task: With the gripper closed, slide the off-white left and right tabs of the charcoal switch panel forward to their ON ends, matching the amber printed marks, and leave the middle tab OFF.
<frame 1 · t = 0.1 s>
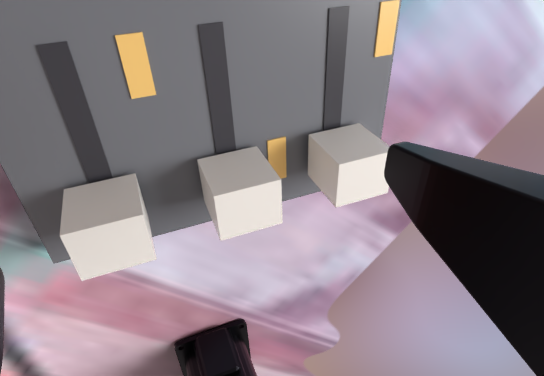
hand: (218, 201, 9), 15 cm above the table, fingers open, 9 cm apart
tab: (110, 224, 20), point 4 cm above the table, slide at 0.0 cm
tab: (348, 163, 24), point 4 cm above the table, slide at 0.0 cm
tab middle: (239, 191, 22), point 4 cm above the table, slide at 0.0 cm
switch panel: (213, 104, 23), on the table
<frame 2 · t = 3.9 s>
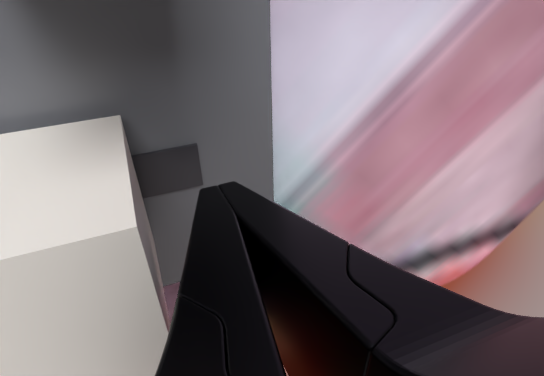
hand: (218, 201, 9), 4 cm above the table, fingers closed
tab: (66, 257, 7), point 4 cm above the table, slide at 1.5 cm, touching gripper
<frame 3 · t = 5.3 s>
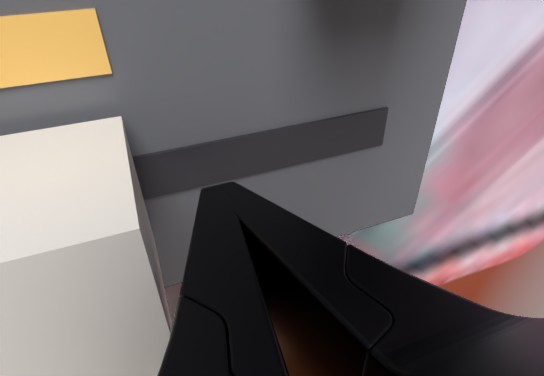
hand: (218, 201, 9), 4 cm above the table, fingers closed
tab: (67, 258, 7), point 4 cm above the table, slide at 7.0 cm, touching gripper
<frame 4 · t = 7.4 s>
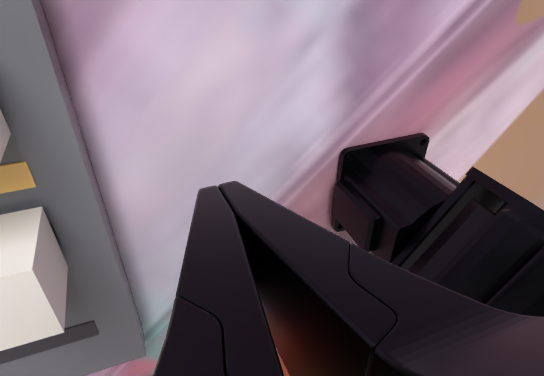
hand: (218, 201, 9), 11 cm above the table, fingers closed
tab middle: (11, 277, 15), point 4 cm above the table, slide at 0.0 cm
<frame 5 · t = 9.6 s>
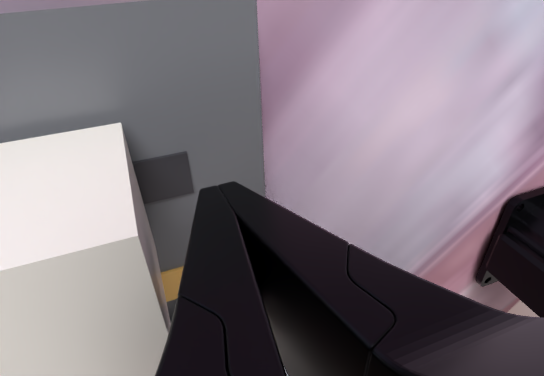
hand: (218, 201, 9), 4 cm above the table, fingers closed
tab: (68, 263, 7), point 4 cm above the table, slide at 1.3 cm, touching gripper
switch panel: (71, 334, 14), on the table
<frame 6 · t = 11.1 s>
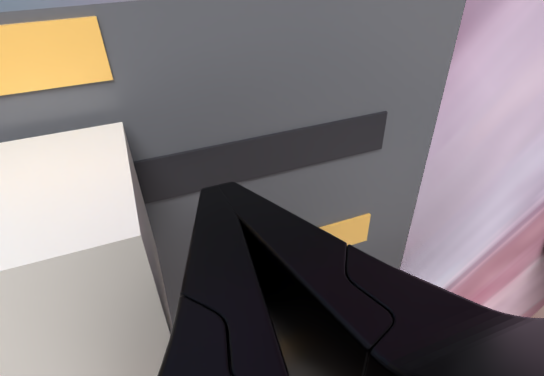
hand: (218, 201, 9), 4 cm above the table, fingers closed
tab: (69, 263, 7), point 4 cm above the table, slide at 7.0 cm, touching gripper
switch panel: (224, 287, 16), on the table
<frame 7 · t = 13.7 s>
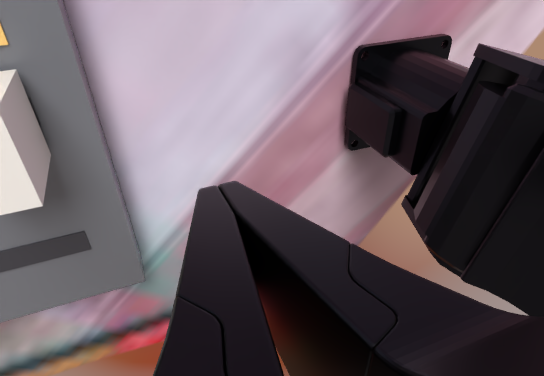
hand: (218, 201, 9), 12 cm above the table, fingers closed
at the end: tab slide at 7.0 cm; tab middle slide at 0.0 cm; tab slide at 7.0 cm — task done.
